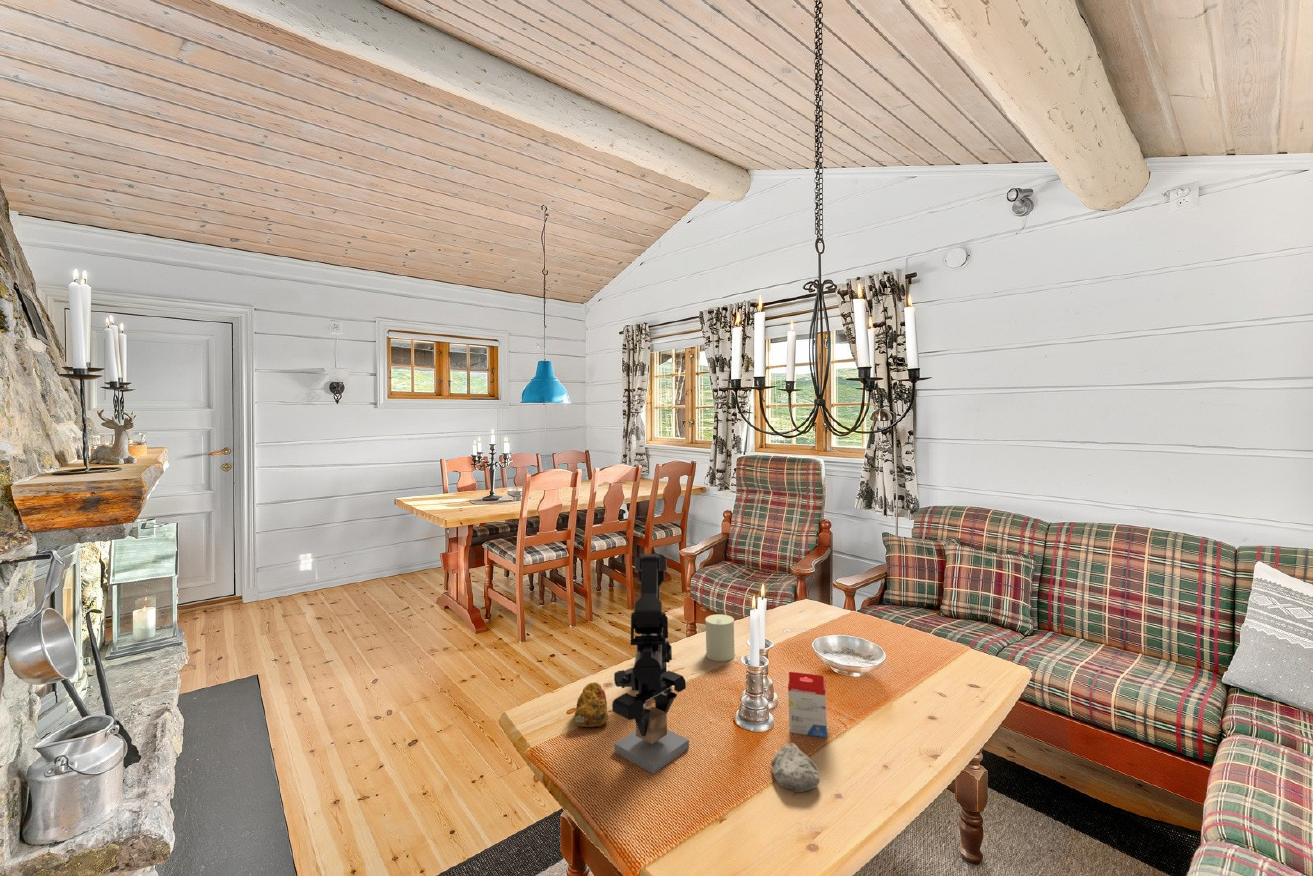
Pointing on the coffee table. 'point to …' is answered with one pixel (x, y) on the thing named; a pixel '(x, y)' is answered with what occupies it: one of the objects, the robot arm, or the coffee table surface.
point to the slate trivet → (651, 750)
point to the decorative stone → (794, 769)
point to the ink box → (807, 704)
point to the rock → (591, 706)
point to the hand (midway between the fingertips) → (651, 730)
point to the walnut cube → (654, 725)
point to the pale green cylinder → (720, 637)
